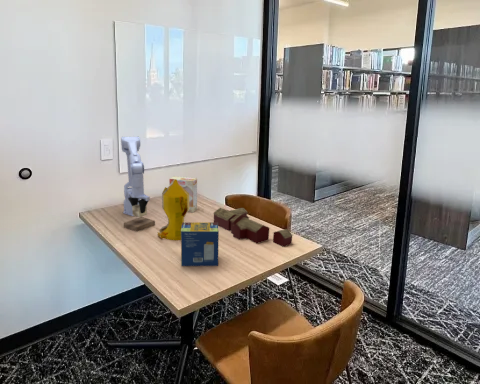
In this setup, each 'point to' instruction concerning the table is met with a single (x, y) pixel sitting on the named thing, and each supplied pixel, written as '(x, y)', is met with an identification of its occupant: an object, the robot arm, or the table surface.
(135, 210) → the maple cube
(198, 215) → the table surface
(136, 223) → the walnut slab
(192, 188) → the coffeecake box
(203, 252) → the protein box
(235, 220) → the toy houses
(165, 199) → the yellow faceted tall shape
